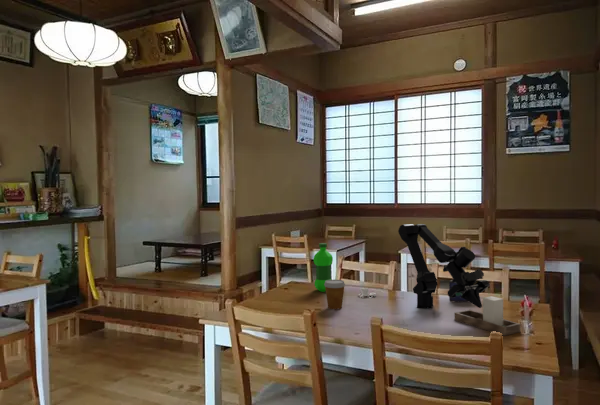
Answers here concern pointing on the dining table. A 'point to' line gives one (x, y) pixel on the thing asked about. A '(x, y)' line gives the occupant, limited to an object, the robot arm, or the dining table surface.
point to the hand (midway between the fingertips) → (480, 307)
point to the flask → (458, 295)
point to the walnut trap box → (477, 321)
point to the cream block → (493, 310)
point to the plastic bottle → (322, 267)
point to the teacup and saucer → (365, 292)
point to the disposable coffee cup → (334, 293)
